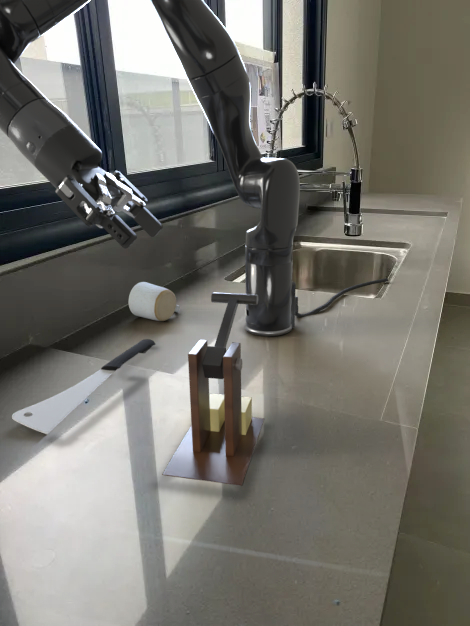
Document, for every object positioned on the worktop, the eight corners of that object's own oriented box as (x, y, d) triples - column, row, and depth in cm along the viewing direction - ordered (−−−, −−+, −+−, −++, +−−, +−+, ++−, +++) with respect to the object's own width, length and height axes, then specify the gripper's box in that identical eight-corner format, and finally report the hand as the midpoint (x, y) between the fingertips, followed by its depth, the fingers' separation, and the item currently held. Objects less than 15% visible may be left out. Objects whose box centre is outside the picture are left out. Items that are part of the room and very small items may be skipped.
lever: (214, 300, 66) (212, 287, 65) (258, 303, 65) (257, 289, 63) (188, 376, 57) (185, 362, 55) (239, 381, 56) (237, 367, 54)
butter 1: (209, 414, 67) (208, 393, 66) (226, 416, 66) (226, 394, 65) (200, 430, 63) (199, 407, 62) (219, 432, 62) (218, 409, 61)
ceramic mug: (157, 326, 103) (155, 290, 101) (128, 319, 108) (126, 285, 105) (188, 313, 112) (187, 280, 110) (161, 307, 116) (159, 275, 114)
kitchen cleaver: (65, 435, 63) (5, 413, 66) (66, 447, 63) (6, 424, 67) (184, 348, 90) (137, 335, 93) (183, 356, 90) (137, 343, 94)
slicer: (199, 419, 68) (195, 324, 63) (264, 426, 66) (264, 329, 61) (162, 484, 55) (154, 370, 50) (242, 495, 53) (240, 378, 48)
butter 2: (234, 417, 66) (233, 395, 65) (251, 418, 65) (251, 397, 64) (226, 433, 62) (226, 410, 61) (245, 435, 62) (245, 412, 61)
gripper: (38, 120, 55) (141, 225, 56) (99, 125, 68) (182, 210, 70) (4, 170, 58) (103, 269, 59) (69, 165, 71) (149, 247, 72)
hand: (146, 237), depth 64 cm, fingers open, 8 cm apart
